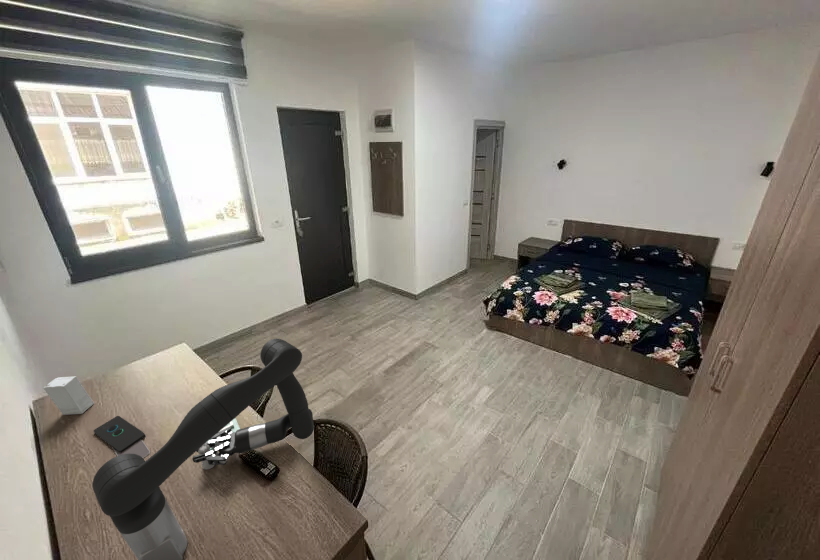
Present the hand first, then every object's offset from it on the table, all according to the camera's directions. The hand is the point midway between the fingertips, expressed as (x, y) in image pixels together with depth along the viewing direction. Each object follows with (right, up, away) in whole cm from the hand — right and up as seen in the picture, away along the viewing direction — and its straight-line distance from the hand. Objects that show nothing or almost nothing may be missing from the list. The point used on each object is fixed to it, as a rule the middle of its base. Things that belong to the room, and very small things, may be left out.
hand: (194, 454), depth 103 cm
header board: (-2, +1, +17) cm, 17 cm away
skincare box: (-66, +3, +27) cm, 72 cm away
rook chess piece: (+3, -5, +3) cm, 7 cm away
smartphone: (-29, -4, +10) cm, 30 cm away
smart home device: (-38, -2, +16) cm, 41 cm away
